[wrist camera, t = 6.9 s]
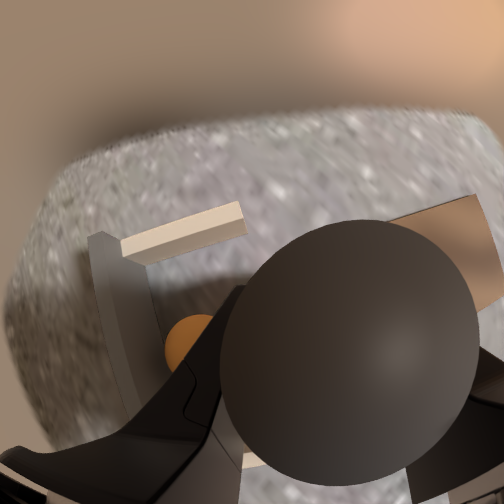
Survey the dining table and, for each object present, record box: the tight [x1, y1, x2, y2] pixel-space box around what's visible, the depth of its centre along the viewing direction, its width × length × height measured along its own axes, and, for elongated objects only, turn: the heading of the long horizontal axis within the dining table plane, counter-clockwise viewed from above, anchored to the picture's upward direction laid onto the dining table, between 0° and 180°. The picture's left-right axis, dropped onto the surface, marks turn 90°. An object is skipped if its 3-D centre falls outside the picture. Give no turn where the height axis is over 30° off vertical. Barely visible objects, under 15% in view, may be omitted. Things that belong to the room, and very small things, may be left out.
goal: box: [87, 201, 266, 469], centre depth 14 cm, size 14×8×5 cm, turn 16°
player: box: [220, 220, 480, 486], centre depth 9 cm, size 5×4×13 cm
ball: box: [165, 314, 213, 373], centre depth 15 cm, size 4×4×4 cm
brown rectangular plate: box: [389, 194, 504, 312], centre depth 16 cm, size 8×10×1 cm
